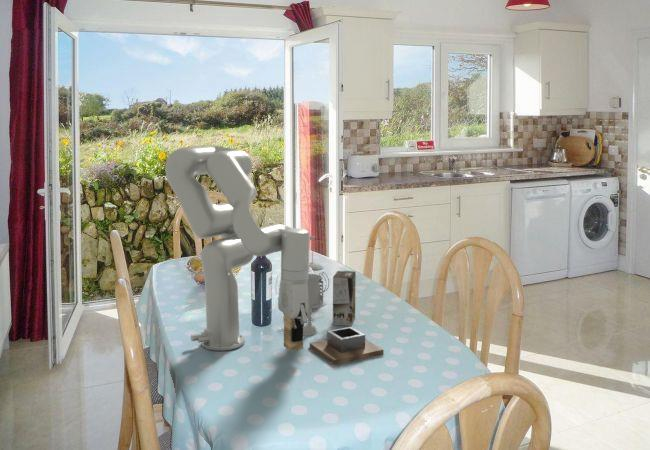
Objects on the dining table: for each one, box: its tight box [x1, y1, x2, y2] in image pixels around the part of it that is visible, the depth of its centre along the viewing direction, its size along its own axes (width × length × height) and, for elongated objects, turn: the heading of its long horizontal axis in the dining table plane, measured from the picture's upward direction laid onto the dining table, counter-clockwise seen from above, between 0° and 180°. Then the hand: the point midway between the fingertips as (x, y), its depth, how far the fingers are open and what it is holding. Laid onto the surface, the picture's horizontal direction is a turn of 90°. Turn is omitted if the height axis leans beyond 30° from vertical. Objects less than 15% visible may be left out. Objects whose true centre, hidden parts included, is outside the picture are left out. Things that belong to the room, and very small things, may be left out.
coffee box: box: [332, 270, 356, 327], centre depth 209 cm, size 9×6×16 cm
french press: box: [309, 235, 330, 309], centre depth 226 cm, size 10×12×25 cm
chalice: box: [303, 273, 322, 336], centre depth 198 cm, size 7×7×18 cm
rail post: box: [283, 314, 304, 352], centre depth 175 cm, size 4×4×12 cm
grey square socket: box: [326, 326, 366, 353], centre depth 183 cm, size 8×8×4 cm
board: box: [309, 338, 384, 366], centre depth 184 cm, size 16×15×2 cm
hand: (293, 337), depth 176 cm, fingers closed on rail post, 4 cm apart
